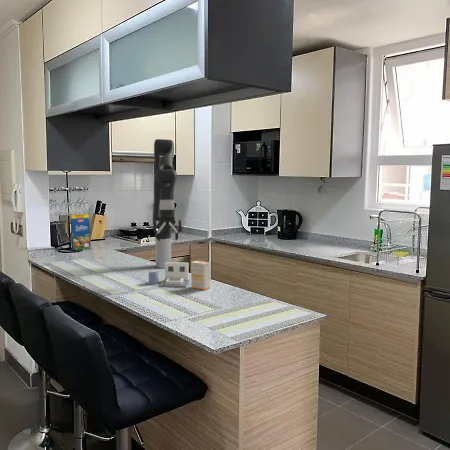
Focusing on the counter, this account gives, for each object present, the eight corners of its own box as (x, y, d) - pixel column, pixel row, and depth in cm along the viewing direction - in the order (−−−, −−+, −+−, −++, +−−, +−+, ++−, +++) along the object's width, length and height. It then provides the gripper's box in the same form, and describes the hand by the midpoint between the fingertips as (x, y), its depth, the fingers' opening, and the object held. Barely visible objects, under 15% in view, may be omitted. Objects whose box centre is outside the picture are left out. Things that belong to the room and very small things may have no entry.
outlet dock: (164, 280, 240) (164, 262, 239) (189, 281, 239) (189, 262, 238) (159, 286, 227) (159, 267, 226) (185, 287, 226) (185, 267, 225)
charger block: (150, 282, 236) (150, 270, 235) (158, 282, 236) (158, 270, 235) (148, 284, 232) (148, 271, 231) (156, 284, 232) (156, 272, 231)
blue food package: (90, 248, 331) (89, 214, 328) (73, 250, 325) (72, 215, 322) (88, 247, 337) (87, 213, 334) (71, 248, 330) (70, 214, 327)
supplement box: (210, 288, 225) (210, 262, 223) (204, 290, 221) (204, 263, 219) (196, 285, 230) (196, 260, 228) (190, 287, 226) (190, 261, 224)
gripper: (180, 208, 237) (181, 239, 238) (152, 208, 235) (153, 240, 236) (181, 208, 230) (182, 240, 230) (152, 209, 228) (153, 241, 228)
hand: (167, 240), depth 233 cm, fingers open, 8 cm apart
